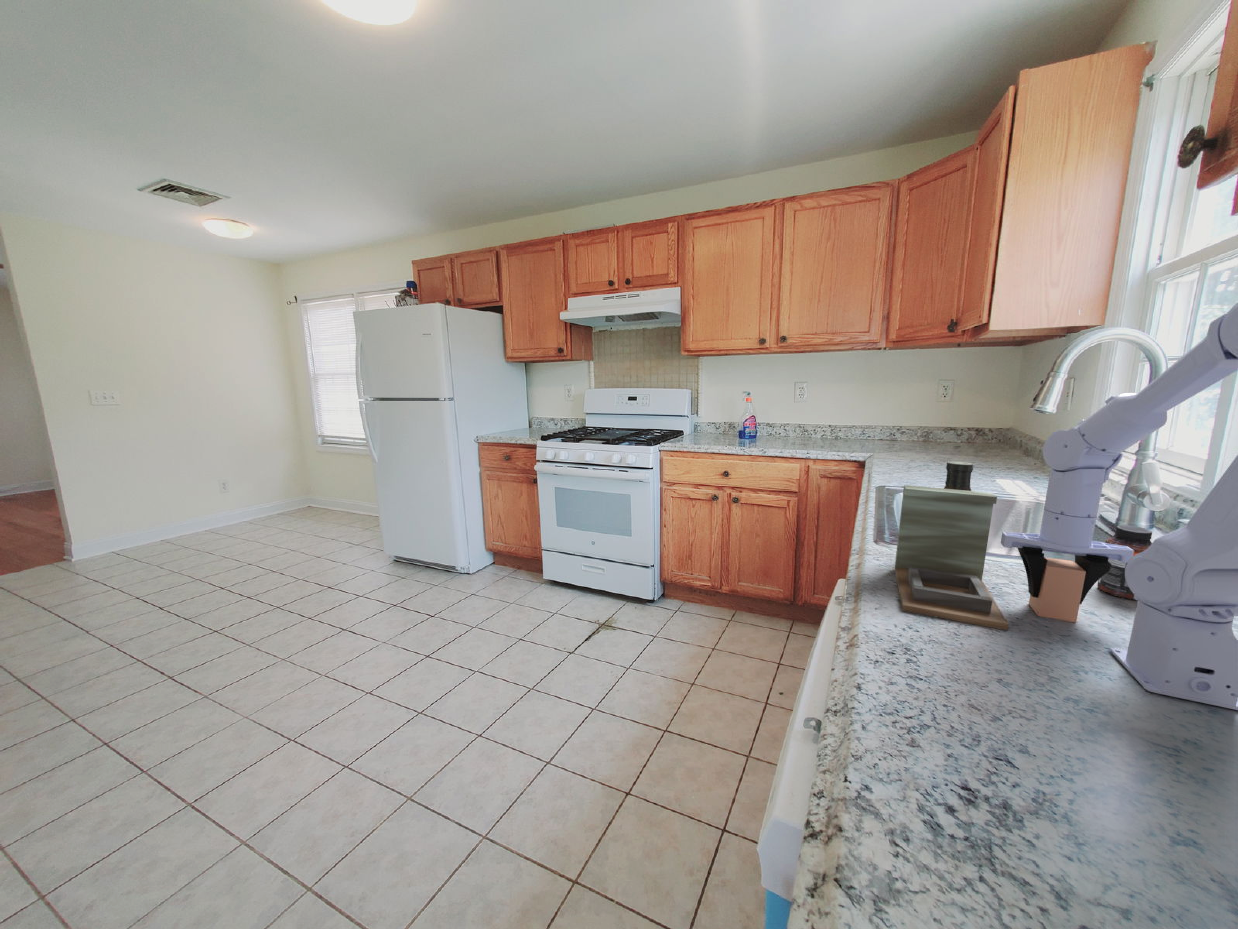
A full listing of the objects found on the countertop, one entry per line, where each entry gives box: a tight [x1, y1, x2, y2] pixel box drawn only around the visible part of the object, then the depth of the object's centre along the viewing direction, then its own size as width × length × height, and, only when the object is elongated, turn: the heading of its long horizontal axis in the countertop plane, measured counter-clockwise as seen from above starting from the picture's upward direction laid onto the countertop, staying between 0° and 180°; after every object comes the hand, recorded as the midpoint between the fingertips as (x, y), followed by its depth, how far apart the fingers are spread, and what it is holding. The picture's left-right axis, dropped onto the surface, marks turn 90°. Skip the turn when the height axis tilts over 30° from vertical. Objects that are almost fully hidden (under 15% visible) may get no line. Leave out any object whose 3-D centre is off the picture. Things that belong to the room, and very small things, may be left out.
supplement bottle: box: [1096, 524, 1153, 600], centre depth 79 cm, size 6×6×11 cm
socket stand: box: [894, 484, 1010, 631], centre depth 77 cm, size 18×13×16 cm
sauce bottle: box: [943, 461, 974, 491], centre depth 90 cm, size 7×6×20 cm
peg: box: [1028, 556, 1086, 624], centre depth 72 cm, size 4×4×8 cm
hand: (1054, 598), depth 73 cm, fingers closed on peg, 4 cm apart
